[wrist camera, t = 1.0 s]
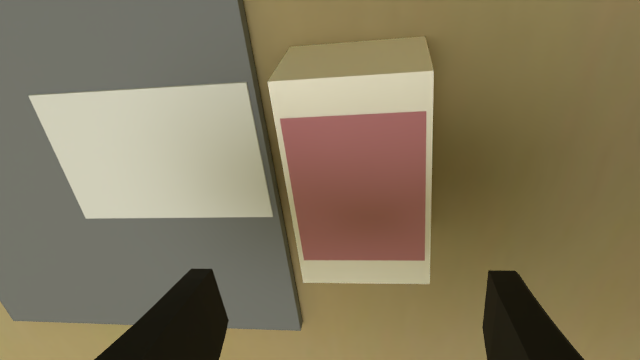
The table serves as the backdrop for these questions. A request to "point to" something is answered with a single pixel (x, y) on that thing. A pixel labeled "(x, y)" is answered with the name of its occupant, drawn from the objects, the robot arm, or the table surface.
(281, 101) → the card deck
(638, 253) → the table surface
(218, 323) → the robot arm
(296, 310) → the mat
